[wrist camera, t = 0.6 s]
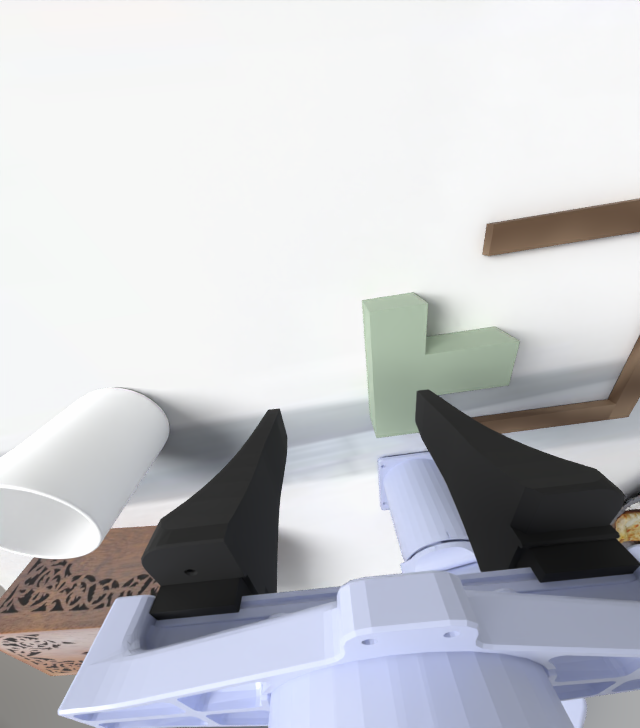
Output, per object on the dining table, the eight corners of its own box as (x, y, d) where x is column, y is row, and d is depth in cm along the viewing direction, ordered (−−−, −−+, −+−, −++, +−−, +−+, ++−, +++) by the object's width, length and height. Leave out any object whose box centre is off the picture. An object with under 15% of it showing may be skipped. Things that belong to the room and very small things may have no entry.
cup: (183, 447, 27) (122, 555, 18) (70, 453, 27) (-46, 566, 18) (154, 381, 23) (59, 481, 14) (21, 389, 23) (-156, 494, 14)
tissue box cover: (249, 517, 34) (228, 618, 26) (265, 569, 41) (253, 662, 33) (56, 529, 34) (-31, 635, 26) (105, 579, 41) (51, 675, 33)
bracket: (620, 411, 27) (628, 417, 26) (455, 433, 28) (459, 439, 27) (746, 180, 17) (764, 179, 16) (486, 223, 18) (494, 224, 17)
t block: (480, 401, 26) (499, 422, 23) (369, 416, 26) (376, 438, 23) (504, 278, 20) (533, 286, 17) (361, 300, 20) (369, 312, 18)
